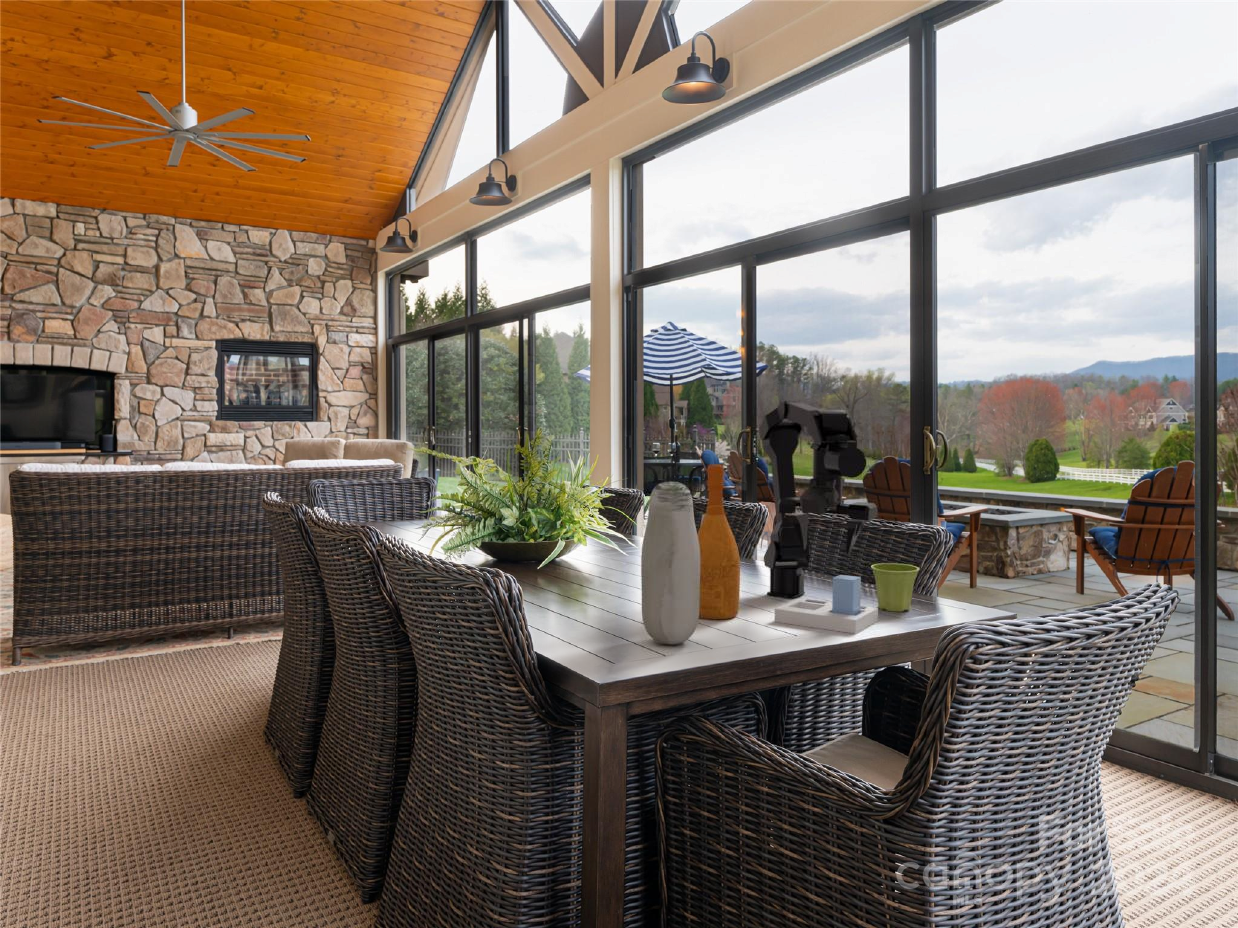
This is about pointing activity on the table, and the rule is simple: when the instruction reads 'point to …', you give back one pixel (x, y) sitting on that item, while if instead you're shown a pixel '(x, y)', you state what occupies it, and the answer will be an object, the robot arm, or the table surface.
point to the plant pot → (894, 585)
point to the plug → (846, 595)
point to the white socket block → (824, 616)
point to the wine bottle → (717, 555)
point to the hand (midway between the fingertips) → (825, 551)
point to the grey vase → (670, 566)
